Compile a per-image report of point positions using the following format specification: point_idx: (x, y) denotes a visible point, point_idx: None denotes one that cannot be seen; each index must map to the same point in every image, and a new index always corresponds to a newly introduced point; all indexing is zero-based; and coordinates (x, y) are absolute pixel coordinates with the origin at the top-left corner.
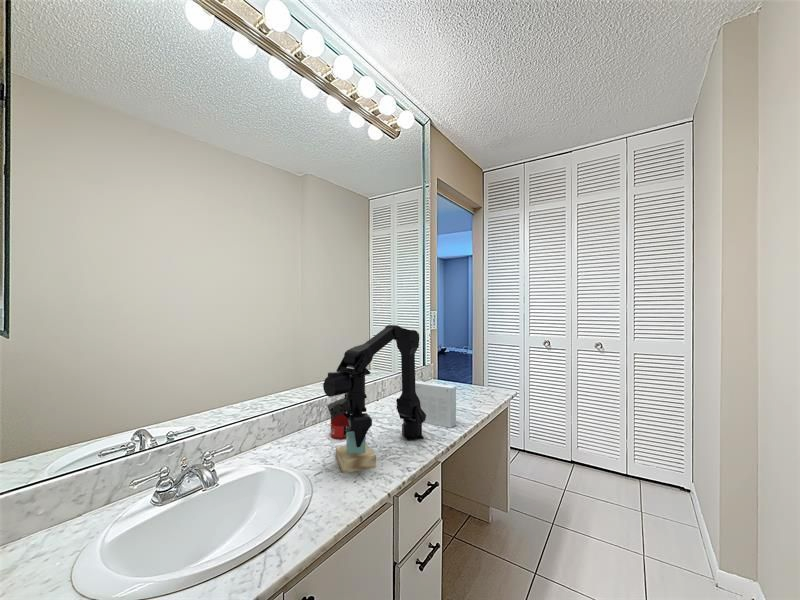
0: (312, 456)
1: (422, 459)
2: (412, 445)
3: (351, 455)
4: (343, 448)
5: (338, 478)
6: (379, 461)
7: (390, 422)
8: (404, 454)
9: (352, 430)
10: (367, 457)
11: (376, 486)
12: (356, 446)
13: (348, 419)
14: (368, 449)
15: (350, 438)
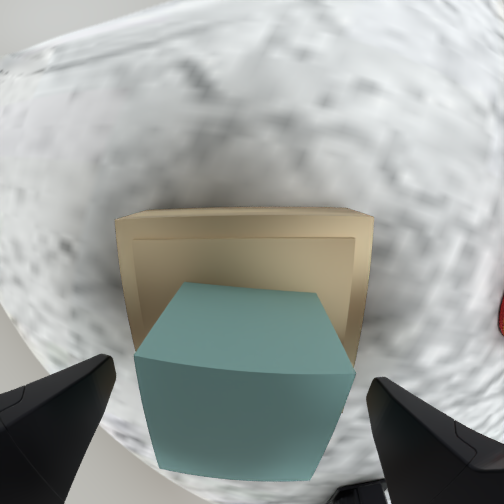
0: (415, 98)
1: (188, 482)
2: (299, 491)
3: (164, 293)
4: (316, 268)
5: (106, 176)
6: None
7: None
8: None
9: (387, 416)
10: None
11: (34, 310)
12: (101, 355)
13: (471, 470)
14: None
15: (139, 363)
